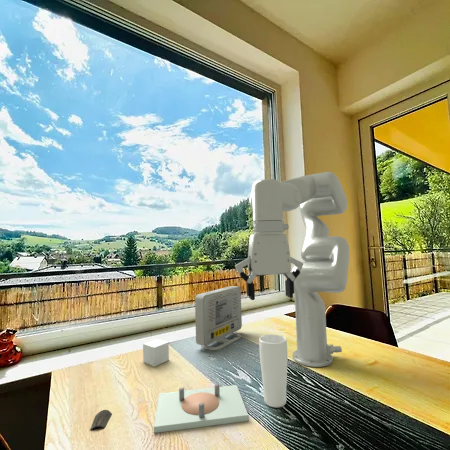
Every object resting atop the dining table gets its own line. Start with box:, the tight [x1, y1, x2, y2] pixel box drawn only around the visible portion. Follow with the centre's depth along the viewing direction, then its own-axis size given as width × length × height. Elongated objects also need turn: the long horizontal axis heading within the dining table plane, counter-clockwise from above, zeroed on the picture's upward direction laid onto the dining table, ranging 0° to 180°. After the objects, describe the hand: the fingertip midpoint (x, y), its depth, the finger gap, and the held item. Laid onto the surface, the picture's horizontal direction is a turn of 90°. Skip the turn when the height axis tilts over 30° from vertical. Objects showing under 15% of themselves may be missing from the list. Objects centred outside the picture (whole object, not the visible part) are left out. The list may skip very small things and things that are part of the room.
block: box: [89, 409, 112, 431], centre depth 61 cm, size 4×6×2 cm, turn 11°
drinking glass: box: [258, 334, 288, 408], centre depth 67 cm, size 7×7×15 cm
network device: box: [194, 285, 243, 351], centre depth 110 cm, size 26×9×20 cm, turn 144°
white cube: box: [142, 338, 170, 367], centre depth 92 cm, size 6×6×6 cm
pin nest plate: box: [153, 383, 249, 434], centre depth 65 cm, size 20×13×4 cm, turn 99°
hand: (270, 297), depth 68 cm, fingers open, 9 cm apart
